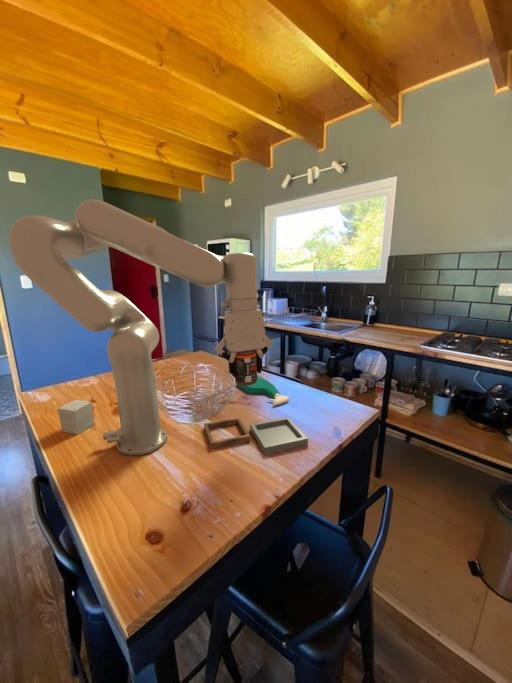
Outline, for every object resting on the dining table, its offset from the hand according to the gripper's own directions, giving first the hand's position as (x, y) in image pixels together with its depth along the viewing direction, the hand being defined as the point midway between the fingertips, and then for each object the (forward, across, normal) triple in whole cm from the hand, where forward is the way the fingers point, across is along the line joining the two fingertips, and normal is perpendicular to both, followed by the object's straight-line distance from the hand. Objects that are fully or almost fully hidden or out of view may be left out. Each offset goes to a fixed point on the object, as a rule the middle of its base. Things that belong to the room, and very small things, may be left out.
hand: (246, 372), depth 76 cm
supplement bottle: (+3, 0, 0) cm, 3 cm away
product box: (+17, -46, +21) cm, 53 cm away
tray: (+19, +7, -4) cm, 20 cm away
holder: (+18, -6, +2) cm, 19 cm away
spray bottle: (+19, +14, +26) cm, 35 cm away
